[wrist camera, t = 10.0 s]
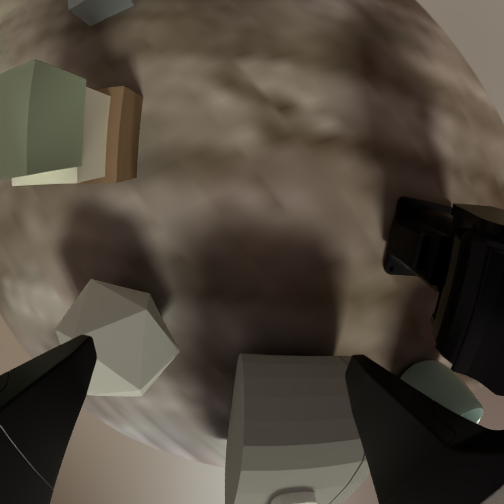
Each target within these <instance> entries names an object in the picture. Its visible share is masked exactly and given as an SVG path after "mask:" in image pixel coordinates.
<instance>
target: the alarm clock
mask: <svg viewBox="0 0 504 504" xmlns="http://www.w3.org/2000/svg"><path fill="white" fill-rule="evenodd" d="M351 357H352V356H285V355H261V354H244V353H240V354H239V357H238V361H237V368H236V375H235V382H234V390H233V397H232V405H231V413H230V421H229V429H228V438H227V448H226V466H225V504H341V503H342V502H344V501H345V500H346V499H347V498H348V497H349V496H350V495H351V494H352V493H353V492H354V490H355V489H357V488H358V486H359V485H360V484H361V483H362V482H363V481H364V480H365V479H366V477H367V476H368V474H369V473H370V470H369V466H368V463H367V460H366V456H365V453H364V450H363V446H362V443H361V440H360V437H359V433H358V430H357V427H356V424H355V421H354V418H353V414H352V410H351V405H350V400H349V395H348V390H347V385H346V380H345V372H346V369H347V367H348V364H349V361H350V359H351Z"/></svg>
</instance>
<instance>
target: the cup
mask: <svg viewBox="0 0 504 504" xmlns="http://www.w3.org/2000/svg"><path fill="white" fill-rule="evenodd" d="M400 379H402V380H403V381H405V382H406V383H408V384H409V385H411V386H412V387H414V388H416V389H417V390H419V391H420V392H422V393H423V394H425V395H427V396H428V397H430V398H431V399H433V400H435V401H436V402H438V403H439V404H441V405H443V406H444V407H446V408H448V409H449V410H451V411H453V412H455V413H457V414H459V415H460V416H462V417H464V418H466V419H468V420H470V421H472V422H474V423H476V424H478V422H479V421H480V419H481V417H482V415H483V411H484V410H483V407H482V405H481V403H480V402H479V401H478V399H477V398H476V397H475V395H474V394H473V393H472V392H471V390H470V389H469V388H468V387H467V385H466V384H465V383H464V382H463V381H462V380H461V379H460V378H459V376H458V375H457V374H456V373H455V372H453V371H452V370H451V369H450V368H449V367H447V366H446V365H444V364H443V363H441V362H439V361H435V360H425V361H421V362H418V363H416V364H414V365H412V366H411V367H409V368H408V369H407V370H406V371H405V372H404V373H403V374H402V376H401V377H400Z"/></svg>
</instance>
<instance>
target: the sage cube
mask: <svg viewBox="0 0 504 504" xmlns="http://www.w3.org/2000/svg"><path fill="white" fill-rule="evenodd" d="M86 81H87V80H86V79H84V78H82V77H79V76H77V75H75V74H72V73H70V72H67V71H65V70H62V69H60V68H57V67H55V66H52V65H49V64H47V63H44V62H42V61H39V60H36V59H35V60H32V61H30V62H27V63H25V64H22V65H20V66H18V67H15V68H13V69H11V70H9V71H6V72H4V73H2V74H0V180H4V179H9V178H15V177H21V176H28V175H33V174H38V173H43V172H49V171H55V170H61V169H67V168H73V167H80V166H82V134H83V114H84V100H85V90H86Z"/></svg>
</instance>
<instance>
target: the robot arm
mask: <svg viewBox="0 0 504 504" xmlns="http://www.w3.org/2000/svg"><path fill="white" fill-rule="evenodd" d="M404 200H405V205H403V201H404ZM450 212H451V214H450ZM387 251H388V253H387V258H386V262H385V266H384V270H385V272H386V273H388V274H391V275H408V276H417V277H419V278H420V279H421V280H423V281H424V282H425V283H426V284H428V285H429V286H430V287H431V288H433V289H434V290H435V291H436V292H438V293H439V296H438V300H437V304H436V308H435V312H434V314H433V315H432V318H431V323H432V326H433V331H432V333H433V336H434V338H435V341H436V346H435V347H436V349H437V351H438V352H439V353H440V354H441V355H442V356H443V357H444V358H445V359H447V360H448V361H449V362H450V363H451V364H453V365H452V367H451V370H452V371H453V372H457V373H460V374H464V375H467V376H469V377H471V378H473V379H475V380H477V381H479V382H480V383H481V384H483V385H484V386H485V387H487V388H488V389H489V390H491V391H492V392H493V393H494V394H496V395H500V396H504V210H502V209H499V208H495V207H491V206H480V205H468V204H455V203H453V208H452V207H449V206H445V205H440V204H436V203H432V202H428V201H423V200H419V199H414V198H409V197H405V196H402V197H400V198H399V200H398V204H397V210H396V215H395V221H394V222H393V226H392V231H391V236H390V240H389V245H388V249H387ZM390 266H392V267H391V269H390V270H389V267H390ZM96 361H97V353H96V349H95V345H94V341H93V338H92V337H91V336H88V335H83V334H82V335H79V336H77V337H75V338H73V339H71V340H69V341H67V342H65V343H63V344H61V345H59V346H57V347H55V348H53V349H51V350H49V351H47V352H45V353H43V354H42V355H40V356H38V357H36V358H34V359H32V360H30V361H28V362H26V363H24V364H22V365H20V366H18V367H16V368H14V369H12V370H10V372H9V371H8V372H6V373H4V374H2V375H0V504H50V501H51V497H52V493H53V489H54V486H55V483H56V479H57V476H58V473H59V469H60V466H61V463H62V460H63V457H64V454H65V451H66V448H67V445H68V442H69V440H70V437H71V434H72V431H73V428H74V426H75V423H76V420H77V418H78V415H79V413H80V410H81V408H82V405H83V403H84V400H85V397H86V395H87V392H88V388H89V385H90V381H91V378H92V374H93V371H94V368H95V364H96ZM345 380H346V385H347V390H348V395H349V400H350V405H351V410H352V414H353V418H354V421H355V424H356V427H357V430H358V433H359V437H360V440H361V443H362V446H363V450H364V453H365V456H366V460H367V463H368V466H369V470H370V473H371V476H372V480H373V484H374V487H375V491H376V494H377V498H378V502H379V504H504V430H491V429H487V428H485V427H482V426H481V425H478V424H476V423H474V422H472V421H470V420H468V419H466V418H464V417H462V416H460V415H459V414H457V413H455V412H453V411H451V410H449V409H448V408H446V407H444V406H443V405H441V404H439V403H438V402H436V401H435V400H433V399H431V398H430V397H428V396H427V395H425V394H423V393H422V392H420V391H419V390H417V389H416V388H414V387H412V386H411V385H409V384H408V383H406V382H405V381H403V380H402V379H400V378H398V377H397V376H395V375H394V374H392V373H391V372H389V371H388V370H386V369H385V368H383V367H382V366H380V365H378V364H377V363H375V362H374V361H372V360H371V359H369V358H368V357H366V356H365V355H362V354H361V355H353V356H352V357H351V359H350V361H349V364H348V367H347V369H346V372H345Z"/></svg>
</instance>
